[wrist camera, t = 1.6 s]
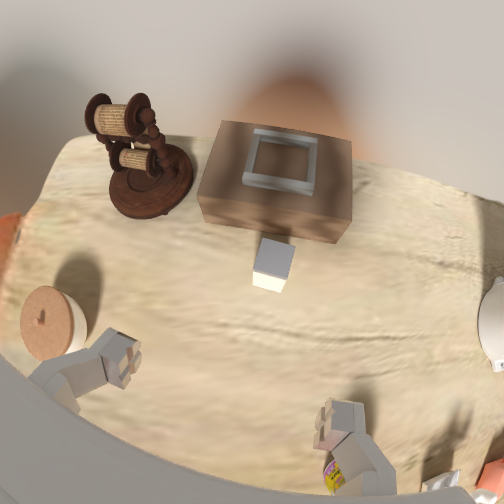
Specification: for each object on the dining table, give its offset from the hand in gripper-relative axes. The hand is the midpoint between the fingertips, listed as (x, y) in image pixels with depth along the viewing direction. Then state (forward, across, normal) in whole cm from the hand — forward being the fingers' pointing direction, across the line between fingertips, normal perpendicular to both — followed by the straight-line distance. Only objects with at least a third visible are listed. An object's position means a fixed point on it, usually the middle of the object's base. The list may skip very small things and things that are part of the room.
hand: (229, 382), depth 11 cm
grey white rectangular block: (+28, 0, +10) cm, 30 cm away
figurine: (+7, -39, +32) cm, 50 cm away
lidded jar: (+15, +27, +23) cm, 39 cm away
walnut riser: (+37, +2, +1) cm, 37 cm away
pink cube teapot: (+7, -57, +31) cm, 65 cm away
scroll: (+35, +23, +4) cm, 42 cm away
